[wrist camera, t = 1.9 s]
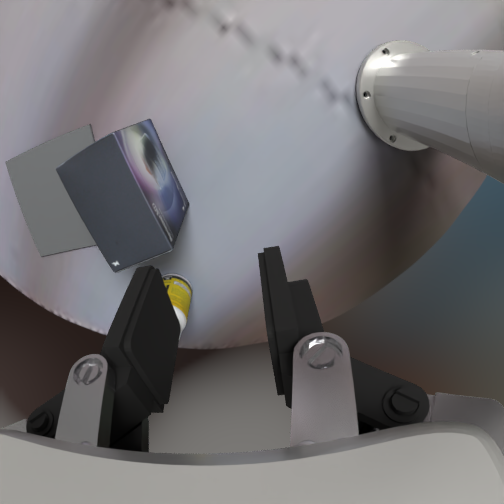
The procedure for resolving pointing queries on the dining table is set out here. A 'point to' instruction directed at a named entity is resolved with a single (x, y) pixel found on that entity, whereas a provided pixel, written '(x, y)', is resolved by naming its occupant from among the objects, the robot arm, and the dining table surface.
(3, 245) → the dining table surface
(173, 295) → the supplement bottle
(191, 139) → the dining table surface
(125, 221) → the small box
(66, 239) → the mat
